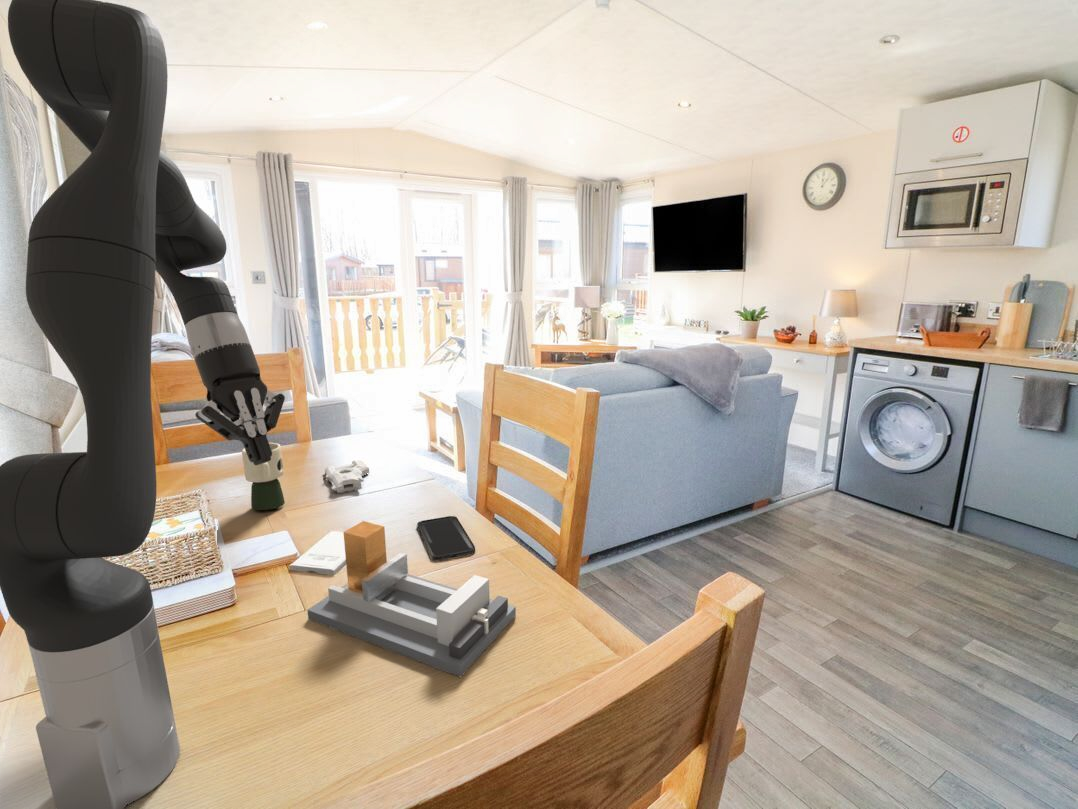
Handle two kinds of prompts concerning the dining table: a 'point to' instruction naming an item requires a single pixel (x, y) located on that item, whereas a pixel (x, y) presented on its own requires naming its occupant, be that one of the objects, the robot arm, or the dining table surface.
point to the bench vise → (421, 620)
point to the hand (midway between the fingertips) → (263, 462)
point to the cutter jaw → (371, 562)
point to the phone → (445, 538)
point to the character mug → (265, 480)
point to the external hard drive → (323, 555)
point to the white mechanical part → (347, 476)
